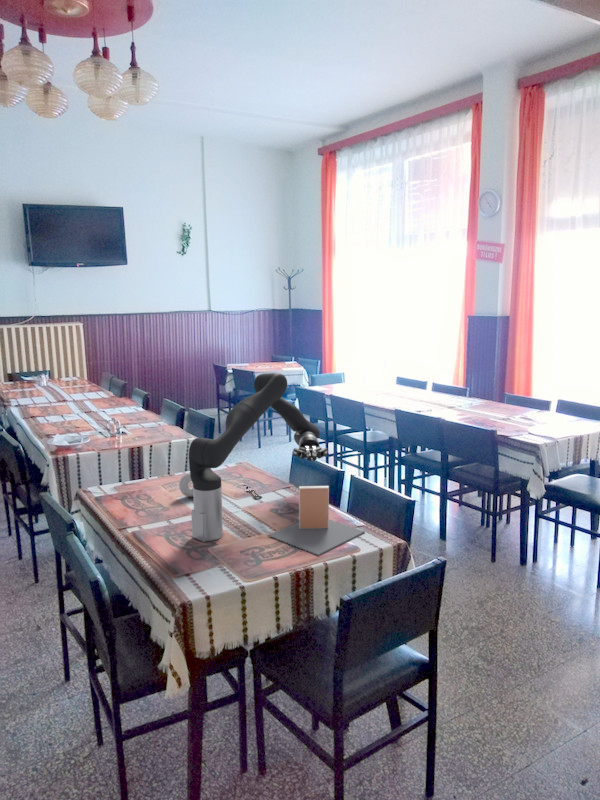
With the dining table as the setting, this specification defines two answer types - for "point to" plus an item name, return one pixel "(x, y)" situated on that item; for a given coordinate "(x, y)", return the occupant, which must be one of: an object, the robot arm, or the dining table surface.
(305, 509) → the tile
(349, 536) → the mat
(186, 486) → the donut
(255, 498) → the throwing knife
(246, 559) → the dining table surface
